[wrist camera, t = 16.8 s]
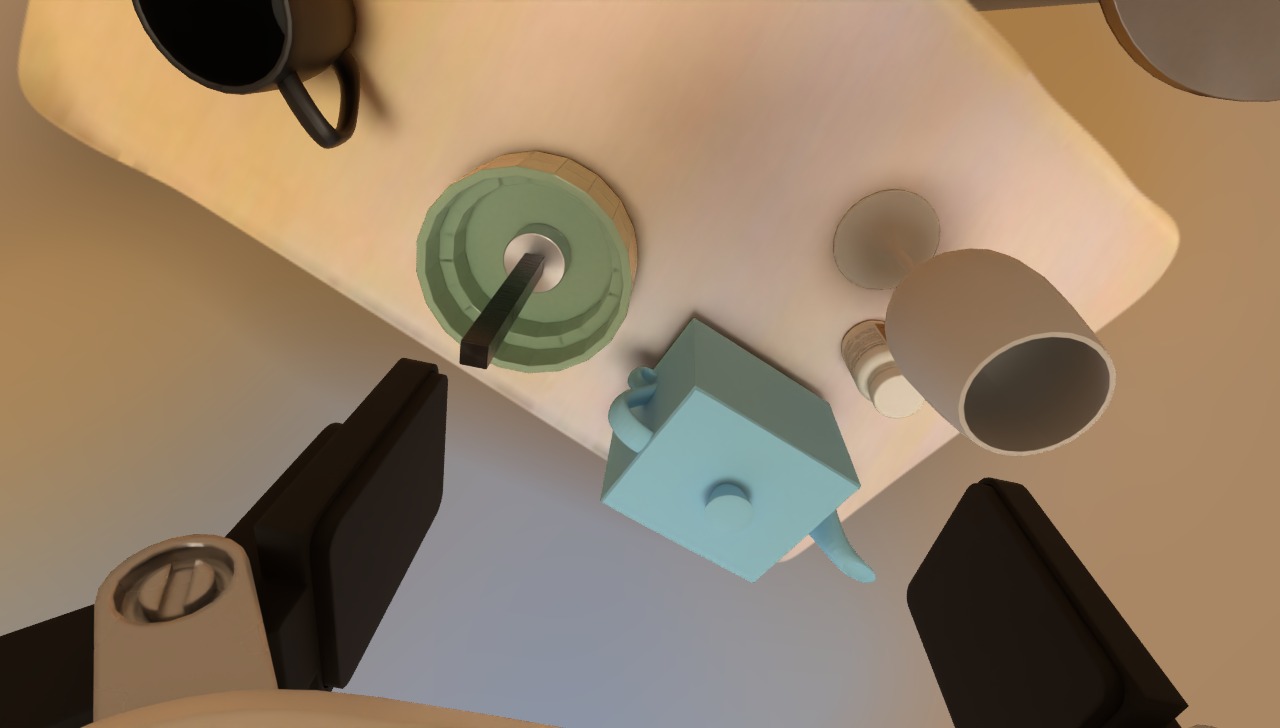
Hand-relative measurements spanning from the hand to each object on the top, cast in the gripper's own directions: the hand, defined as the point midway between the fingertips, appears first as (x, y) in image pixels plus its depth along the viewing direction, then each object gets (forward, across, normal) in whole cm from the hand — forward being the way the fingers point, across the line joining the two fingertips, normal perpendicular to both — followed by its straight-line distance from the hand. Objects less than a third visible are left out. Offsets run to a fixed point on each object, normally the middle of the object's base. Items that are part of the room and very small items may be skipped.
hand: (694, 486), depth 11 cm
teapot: (+34, -9, +19) cm, 40 cm away
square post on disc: (+34, +9, +9) cm, 36 cm away
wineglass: (+34, -15, +3) cm, 38 cm away
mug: (+34, +24, -2) cm, 42 cm away
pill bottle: (+34, -17, +11) cm, 40 cm away
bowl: (+34, +9, +9) cm, 37 cm away
